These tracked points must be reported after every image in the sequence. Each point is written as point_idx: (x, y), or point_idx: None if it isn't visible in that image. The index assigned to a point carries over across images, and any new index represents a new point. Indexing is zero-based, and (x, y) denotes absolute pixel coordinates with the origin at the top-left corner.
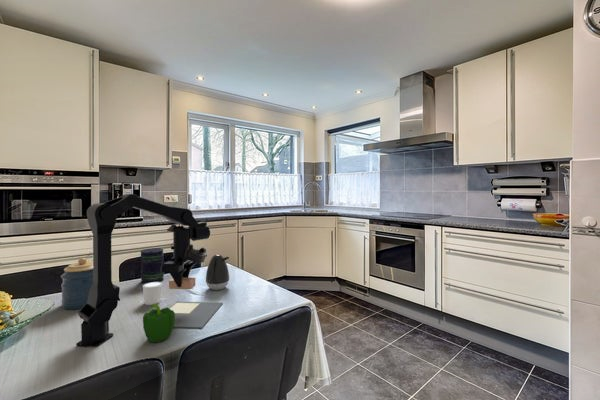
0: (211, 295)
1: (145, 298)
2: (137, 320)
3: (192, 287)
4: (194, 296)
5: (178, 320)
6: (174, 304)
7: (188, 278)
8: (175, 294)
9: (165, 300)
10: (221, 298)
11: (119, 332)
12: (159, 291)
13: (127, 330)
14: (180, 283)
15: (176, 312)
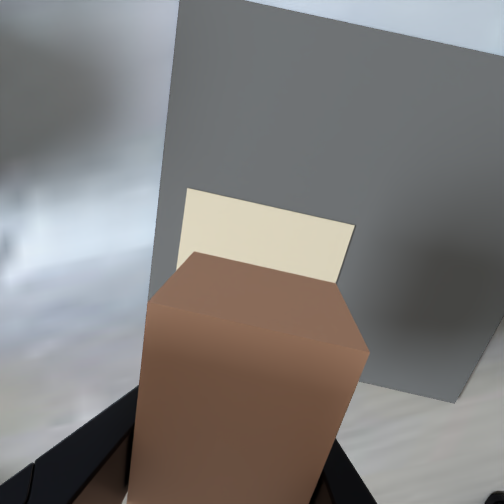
0: (15, 131)
1: None
2: (356, 449)
3: (282, 273)
4: (45, 251)
5: (445, 268)
6: None
7: (193, 407)
8: (24, 363)
9: (115, 392)
10: (70, 29)
11: (467, 479)
12: None
13: (458, 458)
14: (348, 459)
15: None
